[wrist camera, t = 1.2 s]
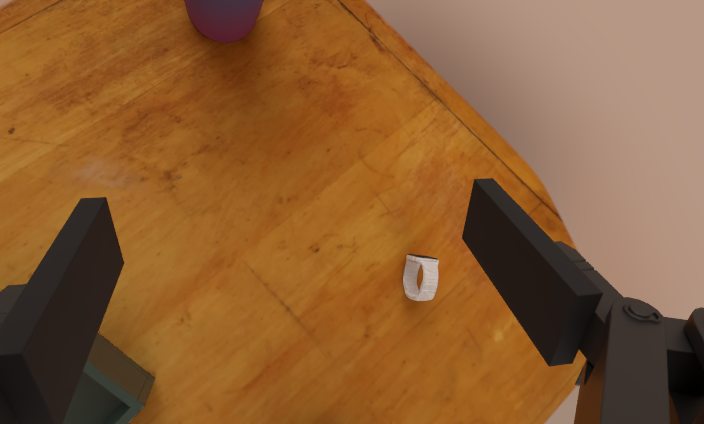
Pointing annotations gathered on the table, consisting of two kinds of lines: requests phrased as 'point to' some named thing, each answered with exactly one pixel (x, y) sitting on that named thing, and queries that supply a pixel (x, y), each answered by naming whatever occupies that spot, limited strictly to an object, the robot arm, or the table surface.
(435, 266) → the smartwatch
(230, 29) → the cup
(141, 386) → the cup holder
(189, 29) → the table surface
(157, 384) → the table surface
